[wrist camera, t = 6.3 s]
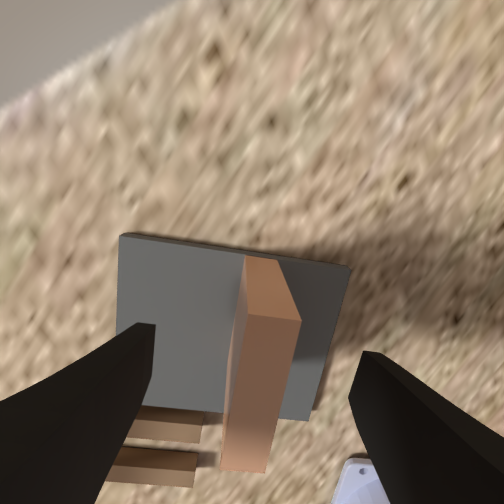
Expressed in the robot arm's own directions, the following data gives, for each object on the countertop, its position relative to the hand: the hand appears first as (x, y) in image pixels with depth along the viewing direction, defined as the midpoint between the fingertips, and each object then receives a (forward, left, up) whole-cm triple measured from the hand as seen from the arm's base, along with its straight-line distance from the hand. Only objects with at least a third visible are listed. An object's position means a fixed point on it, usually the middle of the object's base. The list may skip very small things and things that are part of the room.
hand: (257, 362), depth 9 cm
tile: (0, 0, -3) cm, 3 cm away
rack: (+5, +8, -4) cm, 11 cm away
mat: (+1, +1, -4) cm, 4 cm away
